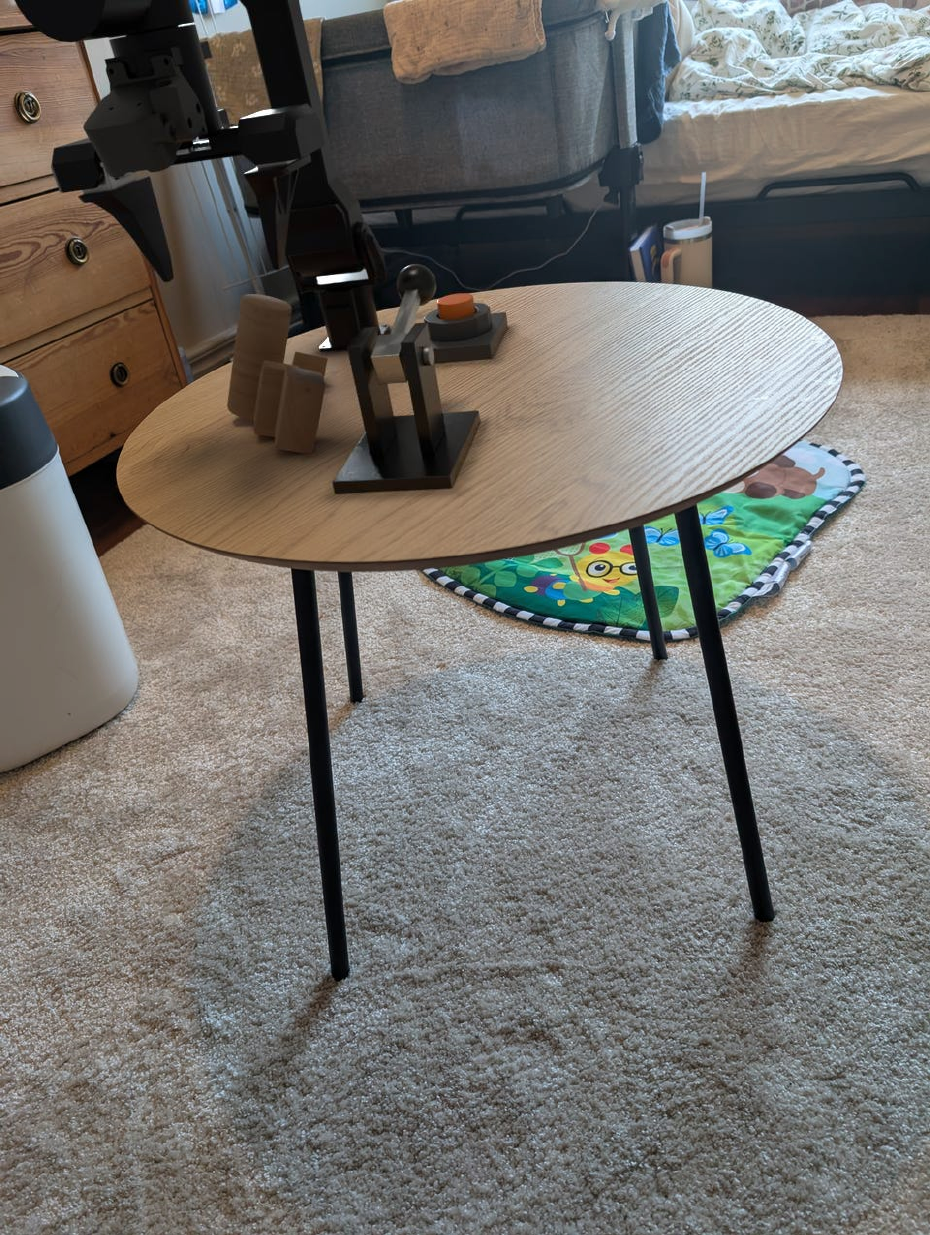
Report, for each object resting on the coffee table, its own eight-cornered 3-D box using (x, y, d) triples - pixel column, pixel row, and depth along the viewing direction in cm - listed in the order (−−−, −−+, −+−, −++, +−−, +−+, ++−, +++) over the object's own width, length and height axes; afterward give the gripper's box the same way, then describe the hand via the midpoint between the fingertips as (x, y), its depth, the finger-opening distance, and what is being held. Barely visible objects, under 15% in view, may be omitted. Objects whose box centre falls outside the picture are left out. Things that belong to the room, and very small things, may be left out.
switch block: (434, 334, 96) (429, 301, 94) (508, 328, 94) (503, 294, 92) (413, 367, 88) (406, 332, 86) (492, 361, 86) (487, 325, 84)
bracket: (377, 430, 76) (352, 314, 71) (480, 423, 74) (463, 303, 69) (335, 496, 67) (302, 369, 61) (452, 491, 65) (429, 358, 59)
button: (443, 312, 91) (441, 295, 90) (478, 309, 91) (475, 291, 90) (436, 323, 89) (433, 305, 88) (471, 320, 88) (469, 302, 87)
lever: (405, 294, 75) (396, 258, 72) (442, 290, 74) (434, 254, 72) (373, 389, 67) (361, 353, 64) (414, 386, 66) (404, 349, 63)
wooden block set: (330, 477, 75) (354, 358, 70) (224, 460, 73) (241, 336, 67) (316, 397, 90) (335, 294, 84) (227, 381, 87) (241, 274, 82)
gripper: (-44, 66, 55) (58, 319, 64) (231, 14, 51) (301, 295, 59) (56, 51, 64) (134, 275, 73) (298, 5, 59) (350, 251, 68)
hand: (223, 275), depth 68 cm, fingers open, 9 cm apart
